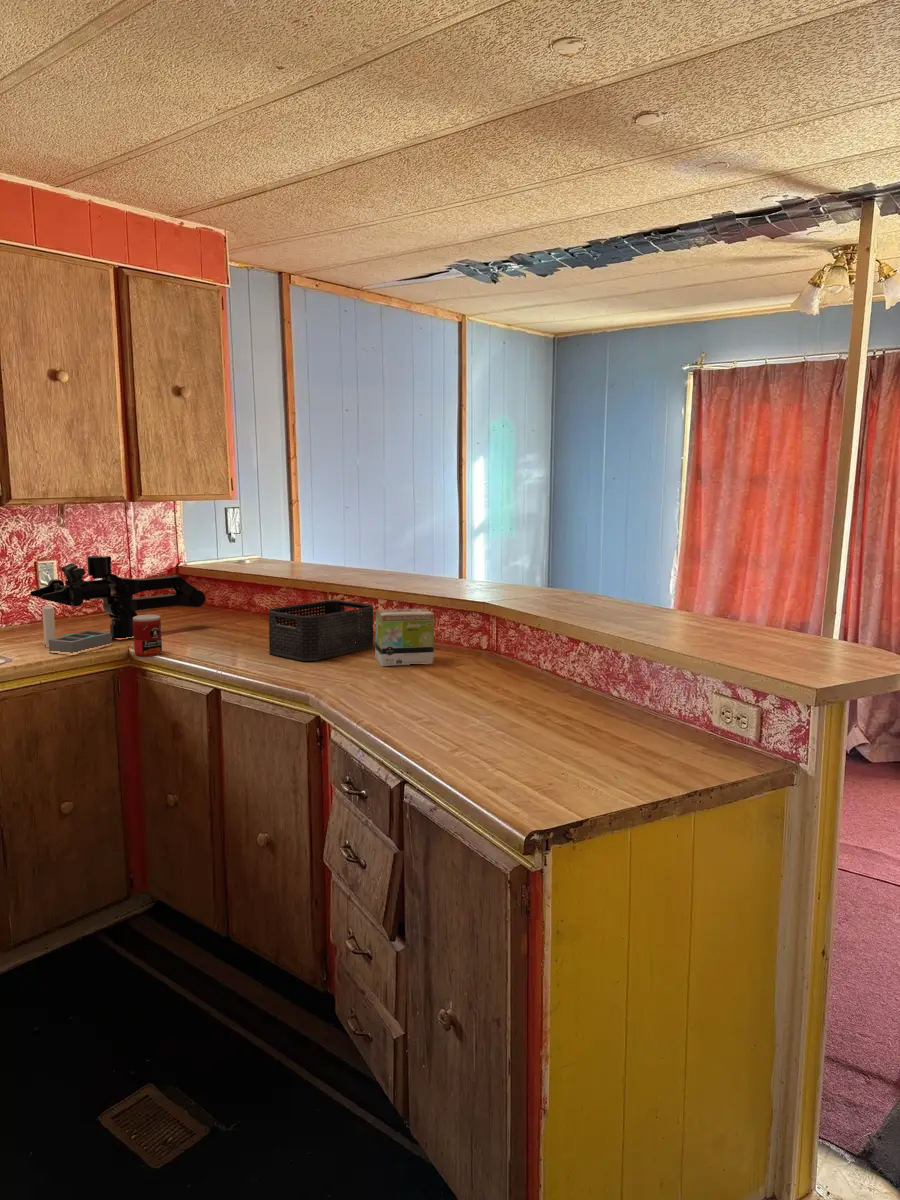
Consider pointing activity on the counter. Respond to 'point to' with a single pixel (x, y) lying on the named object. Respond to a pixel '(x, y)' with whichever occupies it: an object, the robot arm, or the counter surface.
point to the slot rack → (80, 641)
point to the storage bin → (320, 630)
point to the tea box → (404, 636)
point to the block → (48, 623)
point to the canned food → (147, 635)
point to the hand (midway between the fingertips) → (36, 595)
